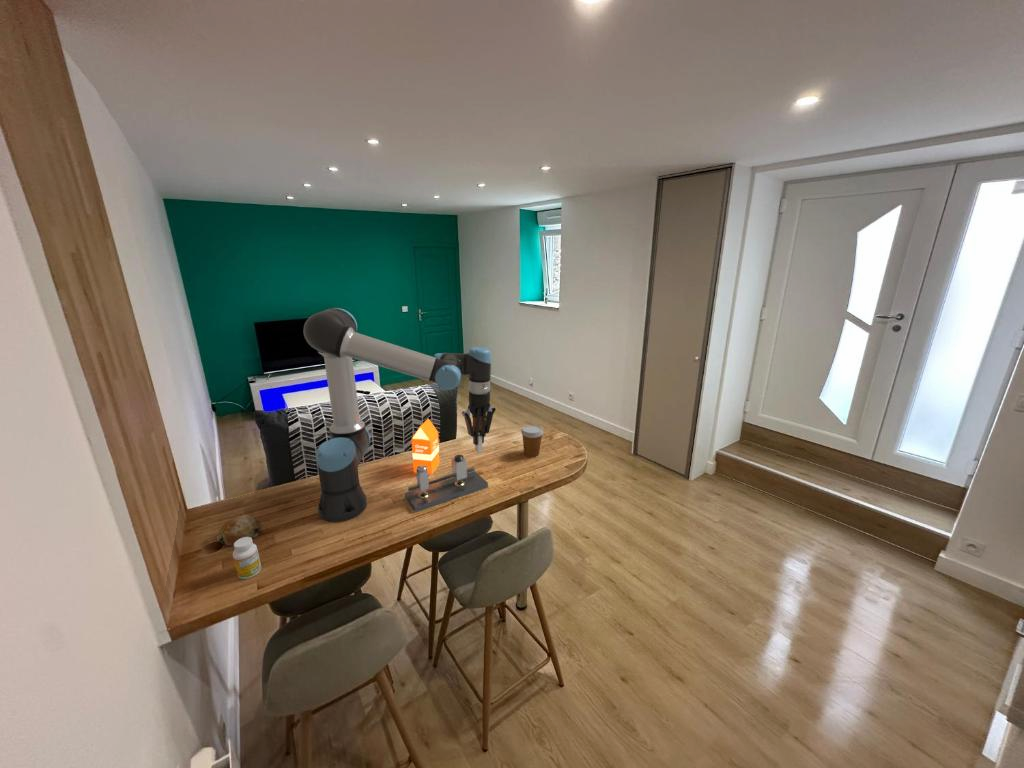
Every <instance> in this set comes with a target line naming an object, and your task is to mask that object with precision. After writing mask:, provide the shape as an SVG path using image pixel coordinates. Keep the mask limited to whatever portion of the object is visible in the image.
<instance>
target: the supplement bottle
mask: <svg viewBox="0 0 1024 768" xmlns="http://www.w3.org/2000/svg"><path fill="white" fill-rule="evenodd" d="M233 548H234V550H233V552H232V559H233V562H234V567H235V571H236V575H237V577H238V578H239V579H241V580H247V579H250V578H253V577H255V576H256V575H258V573H260V571H261V570H262V564H261V559H260V554H259V550H258V547H257V544H256V543H254V542H253V539H252V538H251V537H243V538H240V539H238V540H237V541H236V542H235V543H234V546H233Z"/></svg>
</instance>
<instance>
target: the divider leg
mask: <svg viewBox="0 0 1024 768" xmlns="http://www.w3.org/2000/svg"><path fill="white" fill-rule="evenodd" d="M467 462H468V461H467V459H466V458H465V457H464V455H463V454H456V455H455V456H454V457H451V474H452V476H453V478H455V479H456V480H458V482H461V479H464V478H467V469H468V464H467Z"/></svg>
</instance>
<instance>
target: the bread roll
mask: <svg viewBox="0 0 1024 768" xmlns="http://www.w3.org/2000/svg"><path fill="white" fill-rule="evenodd" d="M259 530H260V522H259V520H258V519H257V518H256V517H254V516H252V515H247V514H242V515H238V516H235V517H233V518H231V519H229V520H227V521H226V522H225V523H224V524H223V525H222V527H220V528H219V530H218V533H217V537H216V539H217V541H218V542H221V544H223V545H225V546H228V547H231V546H232V547H234V543H235V542H236V541H237V540H238V539H240V538H243V537H251V538H252V540H253V539H255V538H257V537H258V535H259V532H260V531H259Z"/></svg>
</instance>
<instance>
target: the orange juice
mask: <svg viewBox="0 0 1024 768" xmlns="http://www.w3.org/2000/svg"><path fill="white" fill-rule="evenodd" d="M411 449H412V453H411V454H412V466H413V473H416V469H417V467H418V466H420V465H425V466H427V470H428V475H433V474H434V472H435V471H436V469H437V468H438V466H439V465H440V445H439V431H438V430H437V429H436V427H435V425H434V424H433V423H432V421H431V420H430V419H429V418H427V419H426V420H425V421H424V422H423V423H422V424H421V425H420V426H419V427H418V429H417V431H415V433H414V435H413V436H412V437H411ZM416 474H417V473H416Z"/></svg>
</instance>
